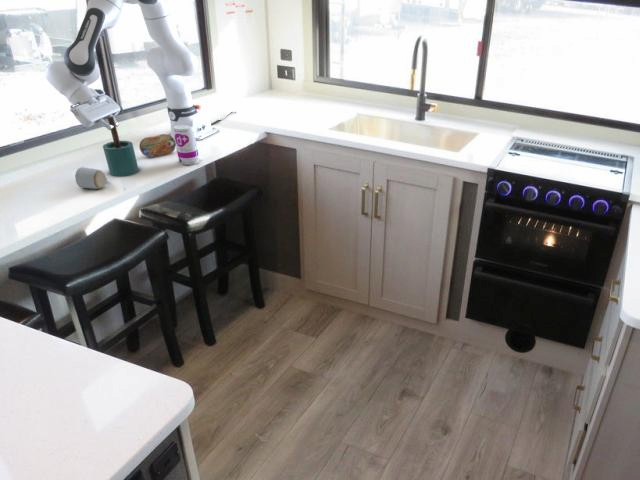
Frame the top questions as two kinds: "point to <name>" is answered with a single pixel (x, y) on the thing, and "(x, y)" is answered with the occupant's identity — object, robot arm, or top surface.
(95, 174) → the ceramic mug
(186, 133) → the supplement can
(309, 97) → the top surface
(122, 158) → the teal pen holder
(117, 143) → the dish brush
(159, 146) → the tin
